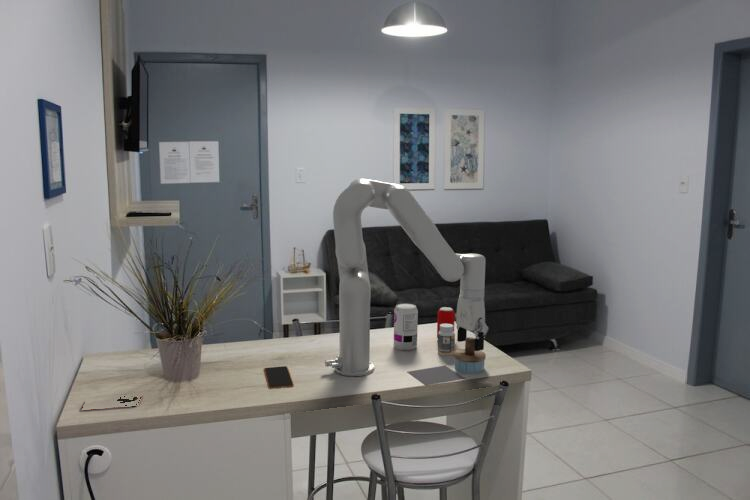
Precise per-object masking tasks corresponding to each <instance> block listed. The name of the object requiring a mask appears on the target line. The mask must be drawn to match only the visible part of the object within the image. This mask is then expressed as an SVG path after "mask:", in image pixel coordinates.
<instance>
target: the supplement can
mask: <svg viewBox="0 0 750 500" xmlns="http://www.w3.org/2000/svg"><path fill="white" fill-rule="evenodd" d="M393 312H394V313H393V316H394V318H393V346H394V347H395V349H397V350H400V351H412V350H415V349H416V348H417V347H418V327H419V326H418V322H419V321H418V320H419V316H418V314H419V310H418V308H417V305H415V304H412V303H399V304H396V305H395V308H394V310H393Z"/></svg>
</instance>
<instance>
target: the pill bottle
mask: <svg viewBox="0 0 750 500" xmlns="http://www.w3.org/2000/svg"><path fill="white" fill-rule="evenodd" d="M453 328H454V329H455V325H454V326H453V325H452V324H441V325H440V331H439V332H438V338H437V352H438V354H440V355H442V356H451V355H454V352H455V346H456V345H455V343H456V342H455V341H456V340H455V339H456V332H455V330H454V331H453Z"/></svg>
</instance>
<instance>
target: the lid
mask: <svg viewBox="0 0 750 500" xmlns="http://www.w3.org/2000/svg"><path fill="white" fill-rule="evenodd" d="M475 338H476V337H469V336H467V338H466V339H465V341H464V342H465V345H464V346H465V348H461V349H457V350H454V354H453V358H454V360H455V359H457V360H459V361H463V362H481V361H483V360H484V361H485V360H486V353H485V352H483V350H480V351H475V350H474V339H475Z"/></svg>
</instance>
